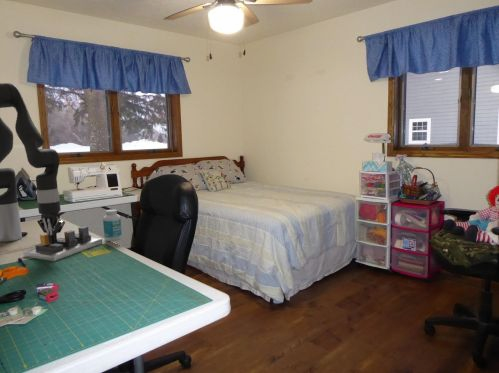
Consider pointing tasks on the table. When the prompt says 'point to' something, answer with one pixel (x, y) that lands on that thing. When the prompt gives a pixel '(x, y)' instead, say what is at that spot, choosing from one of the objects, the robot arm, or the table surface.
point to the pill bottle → (112, 226)
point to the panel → (56, 257)
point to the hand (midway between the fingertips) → (53, 243)
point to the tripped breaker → (44, 239)
